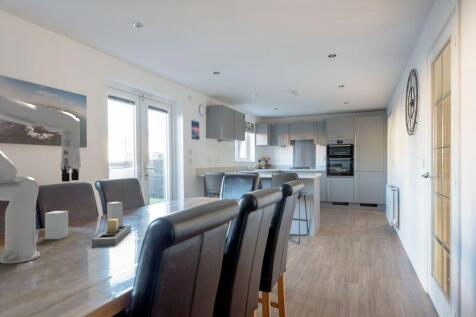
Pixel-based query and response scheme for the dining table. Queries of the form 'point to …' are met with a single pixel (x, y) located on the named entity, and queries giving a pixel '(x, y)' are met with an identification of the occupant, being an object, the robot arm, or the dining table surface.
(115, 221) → the brass block
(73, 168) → the robot arm
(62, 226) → the supplement box
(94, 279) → the dining table surface
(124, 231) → the grey compartment tray
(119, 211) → the skincare box
